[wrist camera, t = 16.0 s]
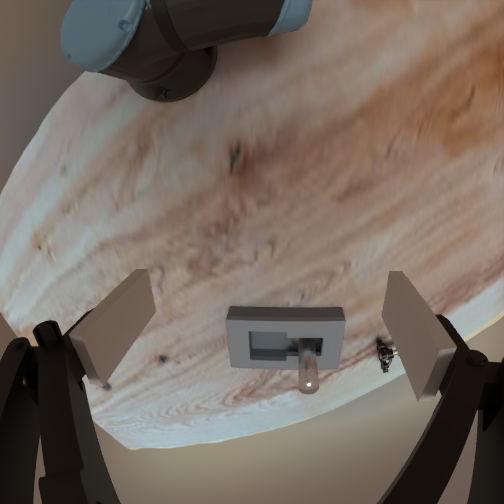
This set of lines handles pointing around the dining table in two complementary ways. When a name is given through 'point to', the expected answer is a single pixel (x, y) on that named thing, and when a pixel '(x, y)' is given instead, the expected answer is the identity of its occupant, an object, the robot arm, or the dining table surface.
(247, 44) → the dining table surface
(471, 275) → the dining table surface
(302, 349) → the flanged metal peg
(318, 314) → the keyhole board
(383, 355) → the valve
